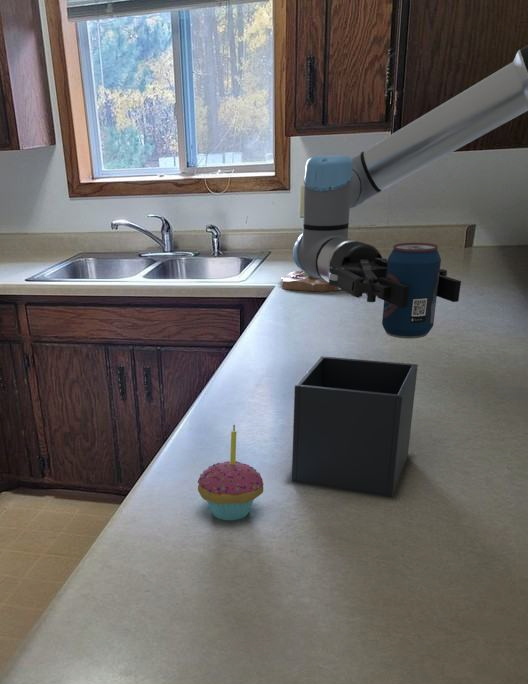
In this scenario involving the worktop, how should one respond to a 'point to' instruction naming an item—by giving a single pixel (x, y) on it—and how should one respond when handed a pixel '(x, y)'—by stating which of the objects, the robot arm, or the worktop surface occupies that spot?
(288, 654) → the worktop surface
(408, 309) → the soda can
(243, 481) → the cupcake
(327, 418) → the open dark gray box
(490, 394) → the worktop surface
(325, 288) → the plant
